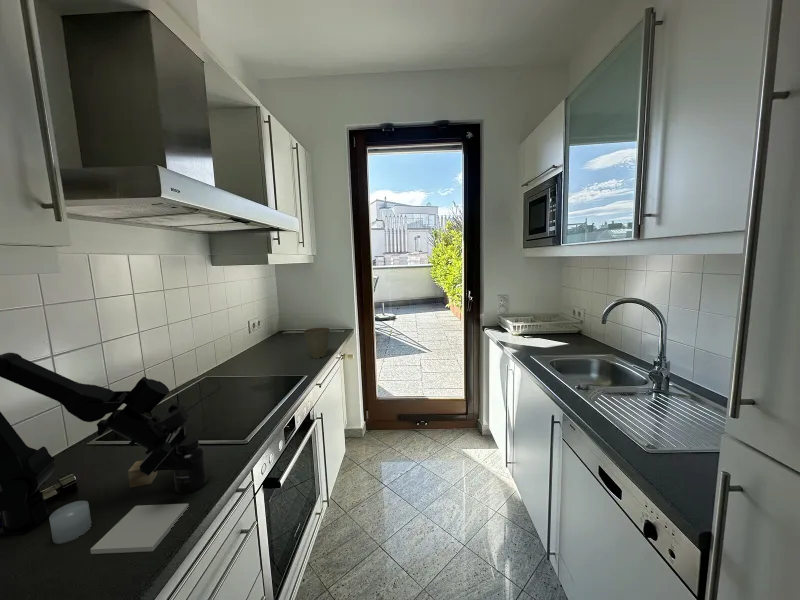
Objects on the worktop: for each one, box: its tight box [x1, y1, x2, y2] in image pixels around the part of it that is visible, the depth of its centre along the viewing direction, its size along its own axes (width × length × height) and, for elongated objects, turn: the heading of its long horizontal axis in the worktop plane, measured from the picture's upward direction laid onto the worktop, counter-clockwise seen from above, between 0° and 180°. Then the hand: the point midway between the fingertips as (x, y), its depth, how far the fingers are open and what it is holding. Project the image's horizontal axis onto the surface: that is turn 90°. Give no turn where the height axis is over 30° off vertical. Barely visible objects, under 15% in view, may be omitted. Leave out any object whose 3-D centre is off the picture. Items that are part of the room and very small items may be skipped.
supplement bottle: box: [172, 436, 207, 495], centre depth 87 cm, size 7×7×12 cm
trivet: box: [90, 503, 190, 555], centre depth 74 cm, size 12×12×1 cm
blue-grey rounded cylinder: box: [48, 500, 92, 545], centre depth 73 cm, size 6×6×5 cm
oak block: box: [127, 459, 158, 488], centre depth 90 cm, size 4×4×4 cm
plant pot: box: [303, 327, 331, 359], centre depth 200 cm, size 15×15×16 cm
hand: (195, 459), depth 87 cm, fingers open, 7 cm apart
